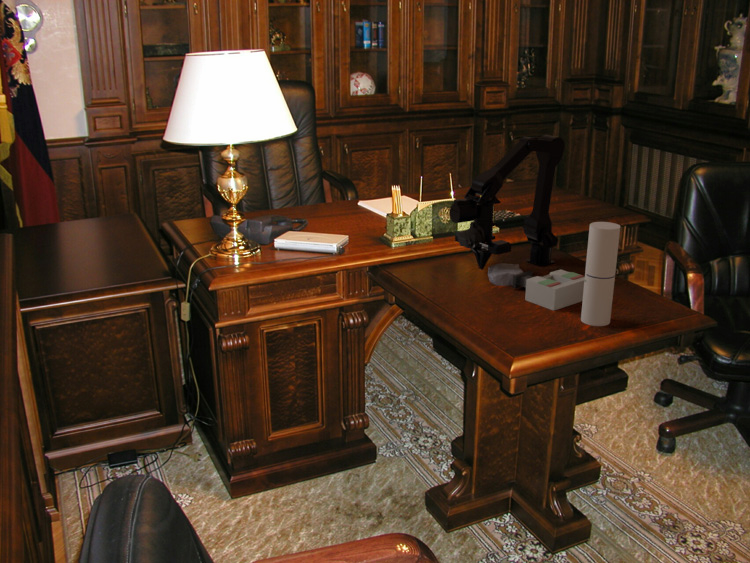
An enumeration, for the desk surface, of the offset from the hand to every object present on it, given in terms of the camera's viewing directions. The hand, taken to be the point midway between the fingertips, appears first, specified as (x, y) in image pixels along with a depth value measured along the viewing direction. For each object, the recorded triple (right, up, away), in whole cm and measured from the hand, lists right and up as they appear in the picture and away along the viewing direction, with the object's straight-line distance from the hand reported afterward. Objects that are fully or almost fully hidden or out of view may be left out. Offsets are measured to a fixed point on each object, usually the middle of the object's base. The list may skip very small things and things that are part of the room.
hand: (481, 269), depth 223 cm
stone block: (+6, -4, -5) cm, 8 cm away
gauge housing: (+17, -9, -22) cm, 29 cm away
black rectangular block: (+12, -6, -15) cm, 21 cm away
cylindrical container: (+24, -14, -36) cm, 45 cm away
